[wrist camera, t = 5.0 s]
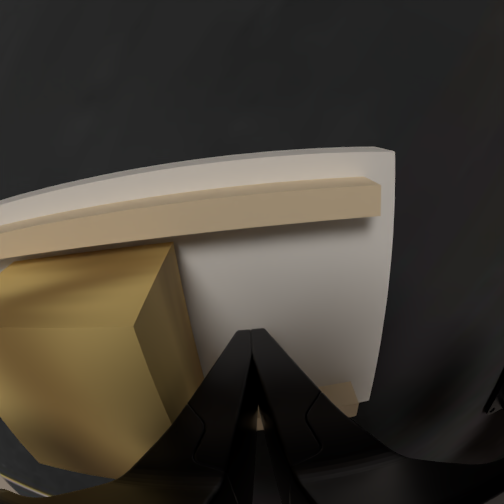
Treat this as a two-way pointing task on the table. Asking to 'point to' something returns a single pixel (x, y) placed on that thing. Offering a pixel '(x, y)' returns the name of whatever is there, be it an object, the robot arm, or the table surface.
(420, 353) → the table surface
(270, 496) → the table surface
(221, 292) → the track
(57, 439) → the block
